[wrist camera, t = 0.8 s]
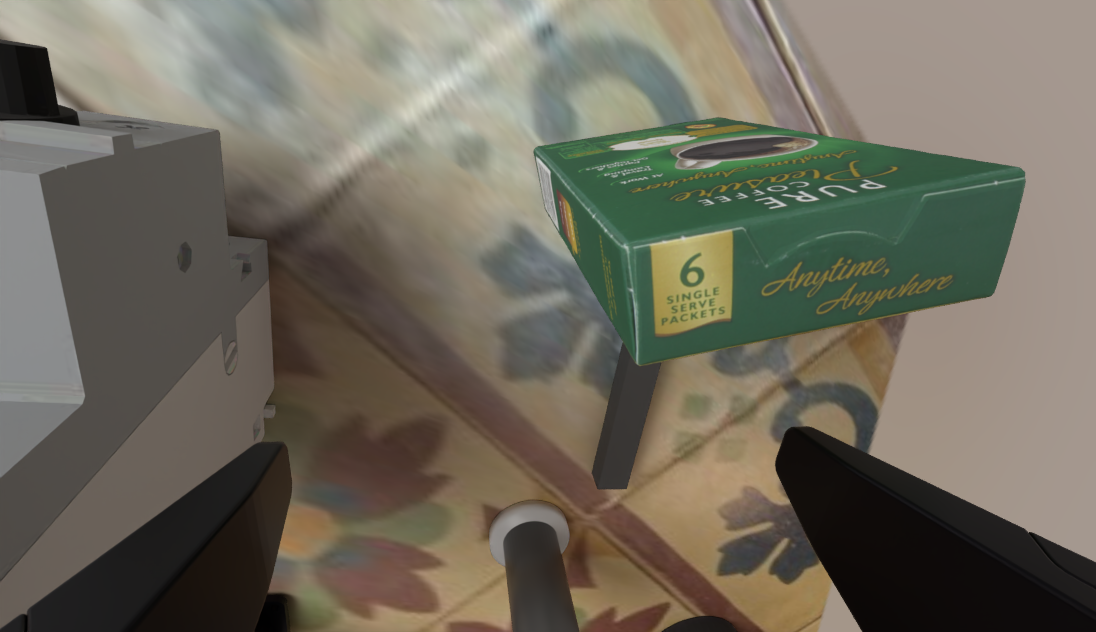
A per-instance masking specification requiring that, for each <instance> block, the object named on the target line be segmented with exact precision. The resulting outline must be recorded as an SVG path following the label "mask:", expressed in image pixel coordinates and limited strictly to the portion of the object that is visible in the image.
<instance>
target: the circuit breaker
mask: <svg viewBox="0 0 1096 632" xmlns="http://www.w3.org/2000/svg"><path fill="white" fill-rule="evenodd" d="M273 390H274V369H273V349H272V329H271V308H270V288H269V268H268V248H267V240H264V239H254V238H245V237H235V236H228V229H227V216H226V204H225V192H224V180H223V168H222V155H221V143H220V133H219V131H218V130H215V129H208V128H201V127H193V126H186V125H179V124H172V123H165V122H158V121H151V120H144V119H137V118H130V117H123V116H116V115H109V114H102V113H95V112H88V111H82V112H80V111H75V110H73V109H71V108H67V107H64V106H61V105H58V103H57V98H56V92H55V87H54V82H53V77H52V72H51V67H50V61H49V56H48V51H47V48H45V47H42V46H36V45H31V44H25V43H19V42H13V41H7V40H1V39H0V628H2V627H3V626H4V625H6V624H7V623H9V622H10V621H11V620H13V619H14V618H15V617H17V616H18V615H20V614H26V615H27V610H28V609H29V608H30V607H31V606H32V605H34V604H35V603H36V602H38V601H39V600H40V599H42V598H43V597H45V596H46V595H47V594H49V593H50V592H52V591H53V590H54V589H56V588H57V587H58V586H60V585H61V584H63V583H64V582H65V581H67V580H68V579H69V578H71V577H72V576H74V575H75V574H76V573H78V572H79V571H80V570H82V569H83V568H85V567H86V566H87V565H89V564H90V563H91V562H93V561H94V560H96V559H97V558H98V557H100V556H101V555H102V554H104V553H105V552H107V551H108V550H109V549H111V548H112V547H113V546H115V545H116V544H118V543H119V542H120V541H122V540H123V539H124V538H126V537H127V536H129V535H130V534H131V533H133V532H134V531H135V530H137V529H138V528H140V527H141V526H142V525H144V524H145V523H146V522H148V521H149V520H151V519H152V518H153V517H155V516H156V515H157V514H159V513H160V512H162V511H163V510H164V509H166V508H167V507H168V506H170V505H171V504H173V503H174V502H175V501H177V500H178V499H179V498H181V497H182V496H184V495H185V494H186V493H188V492H189V491H190V490H192V489H193V488H195V487H196V486H197V485H199V484H200V483H201V482H203V481H204V480H206V479H207V478H208V477H210V476H211V475H212V474H214V473H215V472H217V471H218V470H219V469H221V468H222V467H223V466H225V465H226V464H228V463H229V462H230V461H232V460H233V459H234V458H236V457H237V456H239V455H240V454H241V453H243V452H244V451H245V450H247V449H248V448H250V447H251V446H252V445H254V444H256V443H258V442H261V440H262V438H263V437H264V435H265V431H264V418H273V417H274V415H275V413H276V410H275V405H266V402H267V400H268V398H269V397H270V395H271V393H272V391H273Z"/></svg>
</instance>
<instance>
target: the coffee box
mask: <svg viewBox="0 0 1096 632" xmlns="http://www.w3.org/2000/svg"><path fill="white" fill-rule="evenodd" d="M534 156H535V160H536V165H537V170H538V175H539V180H540V185H541V190H542V195H543V200H544V206H545V209H546V212H547V213H548V216H549V217H550V218H551V220H552V222H553V223H554V225H555V227H556V229H557V230H558V232H559V234H560V235H561V237H562V239H563V240H564V242H565V243H566V245H567V247H568V249H569V250H570V252H571V254H572V256H573V257H574V259H575V261H576V263H577V265H578V266H579V268H580V270H581V272H582V273H583V275H584V277H585V278H586V280H587V282H588V283H589V285H590V287H591V289H592V290H593V292H594V294H595V295H596V297H597V299H598V301H599V302H600V304H601V306H602V307H603V309H604V311H605V312H606V314H607V315H608V317H609V319H610V320H611V322H612V324H613V325H614V327H615V329H616V330H617V332H618V334H619V336H620V337H621V339H622V341H623V343H624V344H625V346H626V348H627V349H628V351H629V353H630V355H631V356H632V358H633V360H634V361H635V363H636V364H637V365H639V366H643V365H648V364H653V363H658V362H662V361H667V360H673V359H679V358H683V357H688V356H692V355H697V354H702V353H707V352H713V351H717V350H722V349H727V348H732V347H737V346H742V345H747V344H752V343H757V342H762V341H768V340H773V339H779V338H784V337H789V336H794V335H800V334H805V333H809V332H813V331H819V330H824V329H829V328H834V327H839V326H844V325H849V324H854V323H859V322H865V321H870V320H875V319H880V318H885V317H891V316H896V315H901V314H906V313H911V312H915V311H920V310H925V309H929V308H934V307H940V306H945V305H950V304H955V303H960V302H964V301H969V300H974V299H980V298H986V297H989V296H992V294H993V293H994V291H995V289H996V286H997V283H998V279H999V276H1000V273H1001V270H1002V267H1003V264H1004V260H1005V258H1006V254H1007V251H1008V248H1009V245H1010V241H1011V237H1012V233H1013V230H1014V226H1015V223H1016V219H1017V216H1018V212H1019V208H1020V203H1021V199H1022V196H1023V192H1024V187H1025V182H1026V181H1025V172H1024V171H1023V170H1022V169H1021V168H1019V167H1013V166H1008V165H1001V164H995V163H988V162H982V161H976V160H971V159H963V158H957V157H952V156H946V155H938V154H931V153H926V152H920V151H916V150H909V149H903V148H896V147H890V146H884V145H879V144H872V143H865V142H859V141H853V140H847V139H840V138H834V137H828V136H823V135H817V134H811V133H806V132H800V131H794V130H789V129H784V128H778V127H772V126H767V125H761V124H754V123H747V122H742V121H735V120H730V119H726V118H719V117H717V118H712V119H706V120H700V121H694V122H685V123H679V124H674V125H669V126H664V127H658V128H651V129H645V130H638V131H632V132H625V133H619V134H613V135H606V136H600V137H594V138H588V139H582V140H576V141H570V142H563V143H557V144H551V145H544V146H538V147H536V148H535V149H534Z"/></svg>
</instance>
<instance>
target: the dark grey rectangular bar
mask: <svg viewBox="0 0 1096 632" xmlns="http://www.w3.org/2000/svg"><path fill="white" fill-rule="evenodd" d="M660 365H661V362H658V363H653V364H648V365H643V366H639V365H637V364H636V363H635V361H634V360H633V358H632V356H631V355H630V353H629V351H628V349H627V348H626V346H625V344H624V343H622V347H621V352H620V356H619V360H618V364H617V368H616V373H615V377H614V381H613V385H612V390H611V394H610V398H609V402H608V406H607V411H606V415H605V419H604V423H603V428H602V432H601V436H600V440H599V444H598V449H597V453H596V457H595V461H594V465H593V470H592V475H593V477H594V480H595V483H596V486H597V489H627V486H628V482H629V479H630V475H631V471H632V468H633V464H634V460H635V457H636V453H637V449H638V446H639V442H640V438H641V435H642V431H643V427H644V424H645V420H646V416H647V413H648V409H649V406H650V402H651V398H652V395H653V391H654V387H655V384H656V380H657V376H658V373H659V369H660Z"/></svg>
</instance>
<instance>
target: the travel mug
mask: <svg viewBox="0 0 1096 632" xmlns="http://www.w3.org/2000/svg"><path fill="white" fill-rule="evenodd" d="M662 632H737V631H736V629H735V628H734V627H733V625H732V624H731V623H729V622H728V621H726V620H724V619H721V618H718V617H710V616H704V617H695V618H691V619H687V620H684V621H681V622H679V623H676V624H674V625H672V626H670V627H669V628H667V629H665V630H664V631H662Z"/></svg>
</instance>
